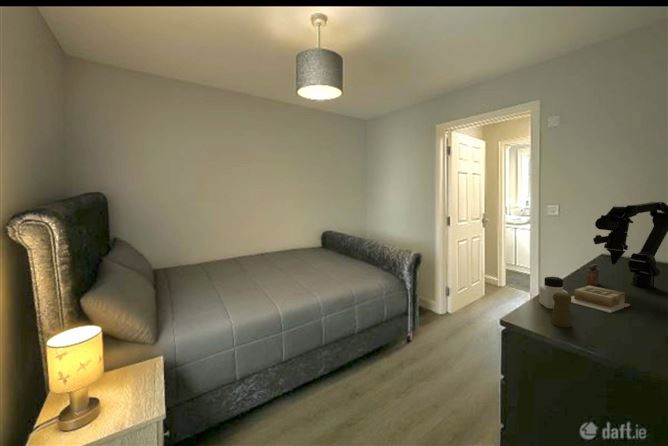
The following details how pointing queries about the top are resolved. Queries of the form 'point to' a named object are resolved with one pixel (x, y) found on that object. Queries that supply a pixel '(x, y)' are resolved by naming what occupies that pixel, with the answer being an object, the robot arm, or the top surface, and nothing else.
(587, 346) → the top surface
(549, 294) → the medicine bottle
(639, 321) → the top surface
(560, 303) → the wooden pepper mill
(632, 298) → the top surface
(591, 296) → the letter block
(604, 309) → the felt mat
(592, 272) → the lighter
